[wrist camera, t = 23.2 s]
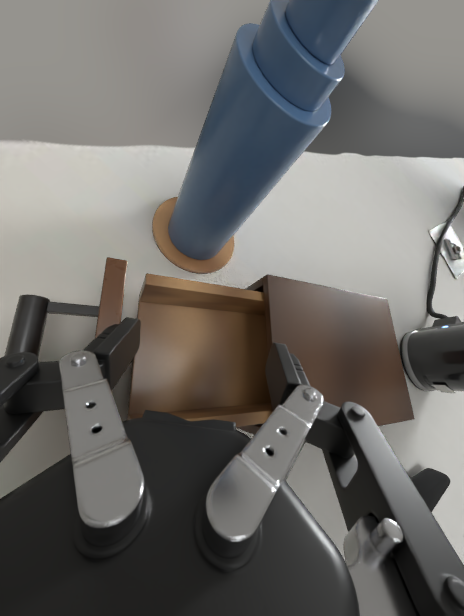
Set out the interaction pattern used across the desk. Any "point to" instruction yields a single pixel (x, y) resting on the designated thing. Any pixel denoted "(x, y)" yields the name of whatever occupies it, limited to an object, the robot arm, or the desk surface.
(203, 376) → the drawer
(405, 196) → the desk surface
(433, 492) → the electric trimmer
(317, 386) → the drawer unit
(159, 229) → the cork coaster
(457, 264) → the grey flat square
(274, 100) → the steel bottle
